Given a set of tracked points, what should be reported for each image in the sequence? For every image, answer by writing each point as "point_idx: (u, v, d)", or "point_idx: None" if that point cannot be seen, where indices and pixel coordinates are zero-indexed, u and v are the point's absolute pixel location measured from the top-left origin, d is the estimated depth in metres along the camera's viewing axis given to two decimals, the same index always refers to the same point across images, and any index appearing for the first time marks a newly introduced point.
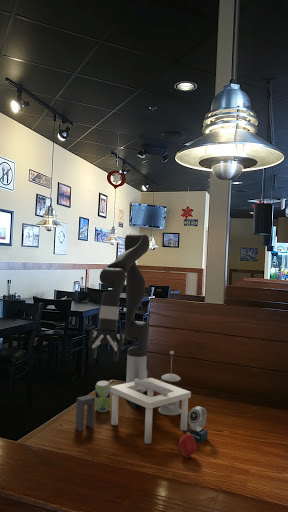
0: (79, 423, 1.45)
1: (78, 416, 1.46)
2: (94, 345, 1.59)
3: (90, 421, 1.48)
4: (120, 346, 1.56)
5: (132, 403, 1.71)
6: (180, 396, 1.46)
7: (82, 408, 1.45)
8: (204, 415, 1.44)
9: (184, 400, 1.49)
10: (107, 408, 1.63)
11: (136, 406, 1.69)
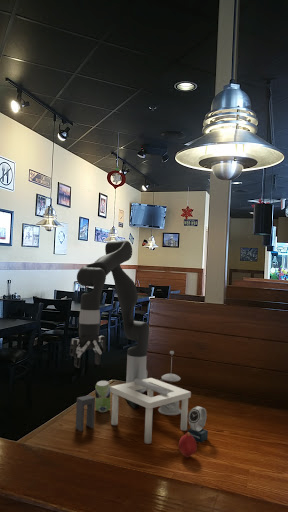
0: (79, 423, 1.45)
1: (78, 416, 1.46)
2: (79, 354, 1.44)
3: (90, 421, 1.48)
4: (104, 348, 1.51)
5: (131, 403, 1.71)
6: (180, 396, 1.46)
7: (82, 408, 1.45)
8: (204, 415, 1.44)
9: (184, 400, 1.49)
10: (107, 408, 1.63)
11: (135, 406, 1.69)
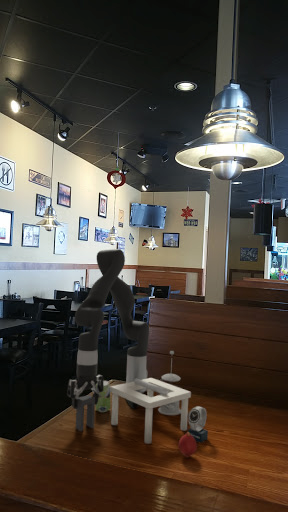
0: (79, 423, 1.45)
1: (78, 416, 1.46)
2: (77, 395, 1.44)
3: (90, 421, 1.48)
4: (102, 388, 1.51)
5: (130, 403, 1.71)
6: (180, 396, 1.46)
7: (82, 408, 1.45)
8: (204, 415, 1.44)
9: (184, 400, 1.49)
10: (107, 408, 1.63)
11: (133, 406, 1.69)
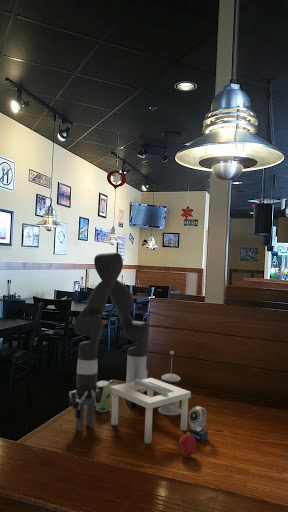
0: (79, 423, 1.45)
1: None
2: (80, 406, 1.45)
3: (90, 421, 1.48)
4: (99, 399, 1.50)
5: (128, 403, 1.72)
6: (180, 396, 1.46)
7: (82, 408, 1.45)
8: (204, 415, 1.44)
9: (184, 400, 1.49)
10: (107, 408, 1.63)
11: (131, 406, 1.69)
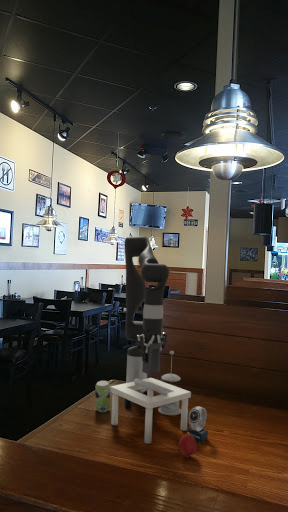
0: (146, 366, 1.49)
1: None
2: (147, 349, 1.48)
3: (156, 365, 1.52)
4: (164, 345, 1.54)
5: (124, 402, 1.72)
6: (180, 396, 1.46)
7: (150, 352, 1.49)
8: (204, 415, 1.44)
9: (184, 400, 1.49)
10: (107, 408, 1.63)
11: (126, 405, 1.69)
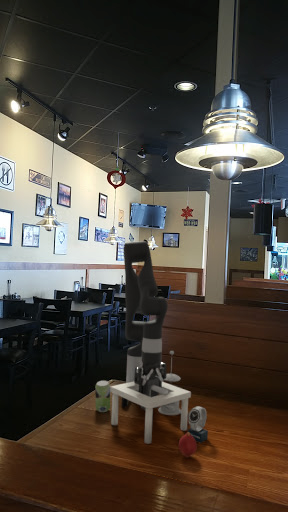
0: None
1: None
2: (144, 382, 1.47)
3: None
4: (165, 375, 1.54)
5: None
6: (180, 396, 1.46)
7: (148, 388, 1.48)
8: (204, 415, 1.44)
9: (184, 400, 1.49)
10: (107, 408, 1.63)
11: (122, 404, 1.70)
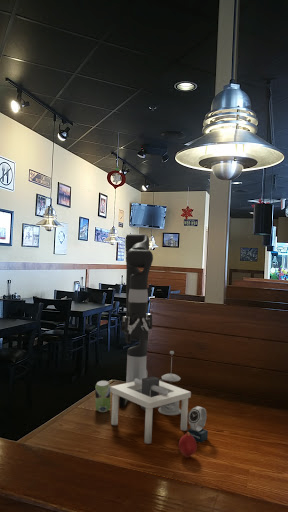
0: None
1: None
2: (130, 330, 1.54)
3: None
4: (151, 326, 1.61)
5: None
6: (180, 396, 1.46)
7: (148, 388, 1.48)
8: (204, 415, 1.44)
9: (184, 400, 1.49)
10: (107, 408, 1.63)
11: (119, 403, 1.71)
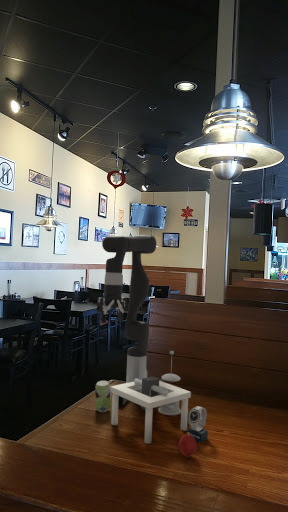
0: None
1: None
2: (105, 311, 1.64)
3: None
4: (126, 308, 1.71)
5: None
6: (180, 396, 1.46)
7: (148, 388, 1.48)
8: (204, 415, 1.44)
9: (184, 400, 1.49)
10: (107, 408, 1.63)
11: None
